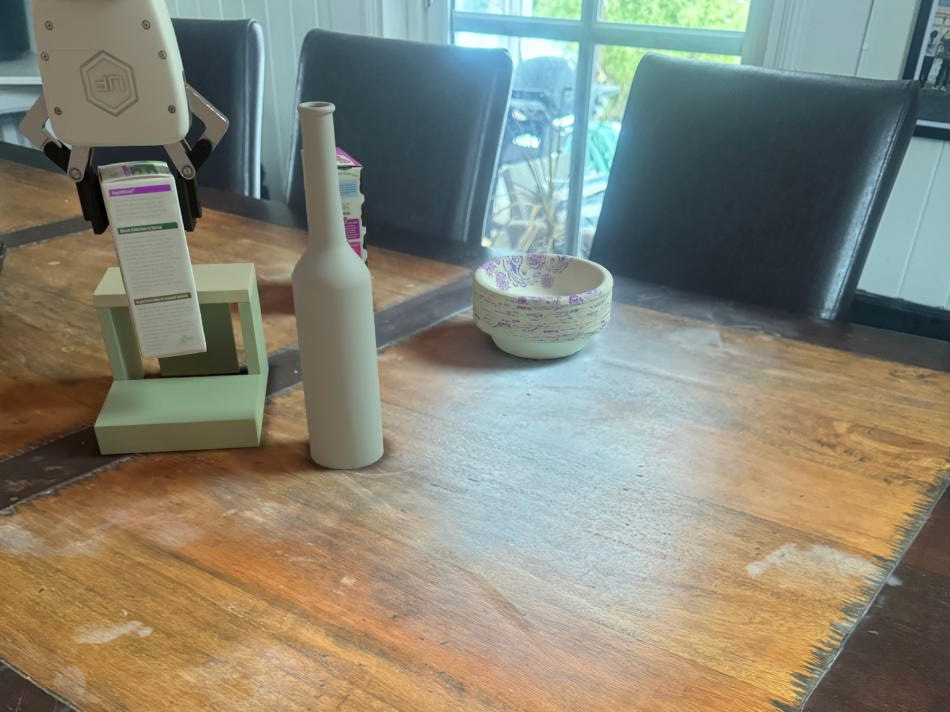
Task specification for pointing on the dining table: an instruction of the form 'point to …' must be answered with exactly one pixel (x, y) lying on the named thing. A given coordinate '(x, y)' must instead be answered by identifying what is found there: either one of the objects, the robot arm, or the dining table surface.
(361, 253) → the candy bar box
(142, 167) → the syrup box
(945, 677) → the dining table surface
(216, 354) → the shelf
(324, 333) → the bottle
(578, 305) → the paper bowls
